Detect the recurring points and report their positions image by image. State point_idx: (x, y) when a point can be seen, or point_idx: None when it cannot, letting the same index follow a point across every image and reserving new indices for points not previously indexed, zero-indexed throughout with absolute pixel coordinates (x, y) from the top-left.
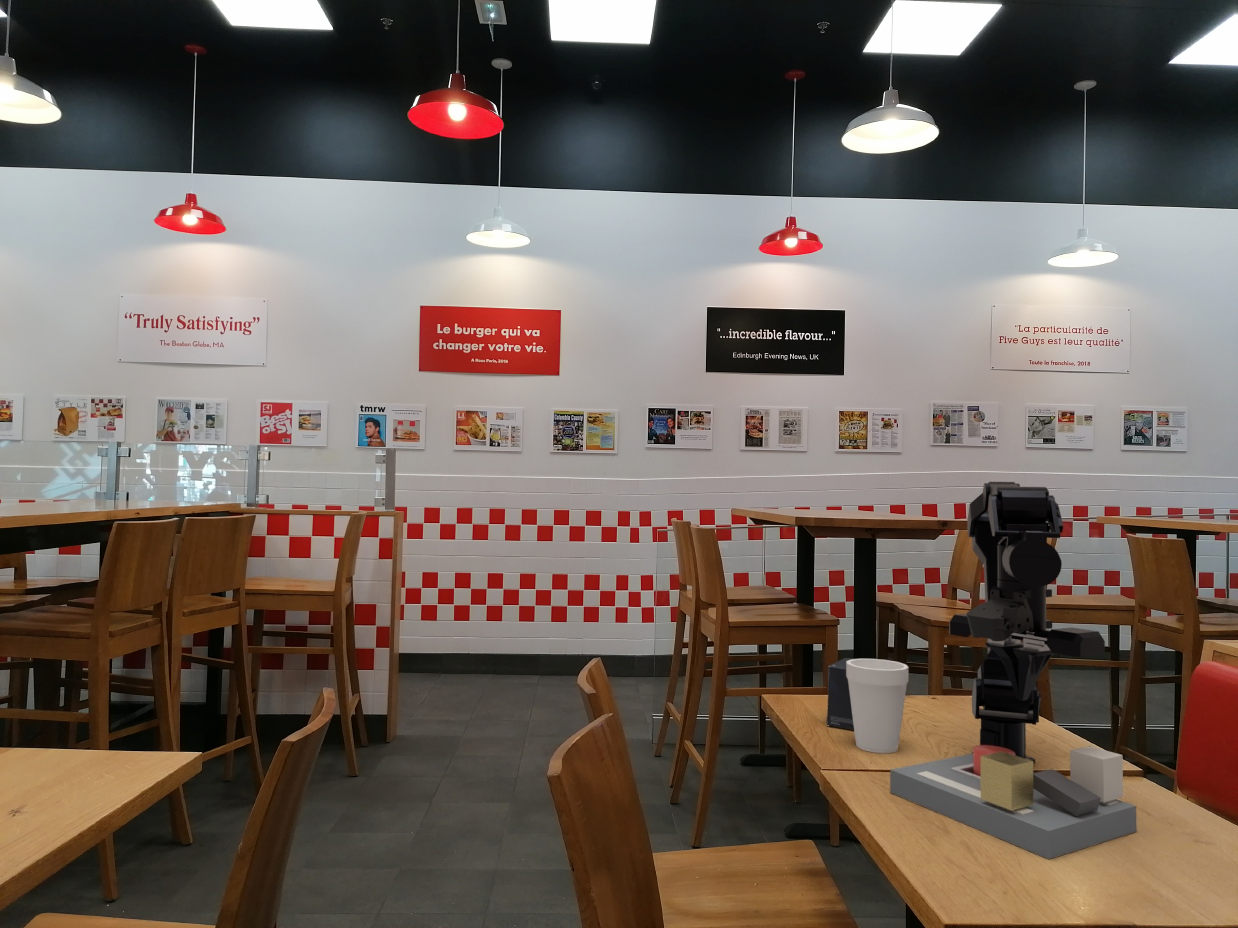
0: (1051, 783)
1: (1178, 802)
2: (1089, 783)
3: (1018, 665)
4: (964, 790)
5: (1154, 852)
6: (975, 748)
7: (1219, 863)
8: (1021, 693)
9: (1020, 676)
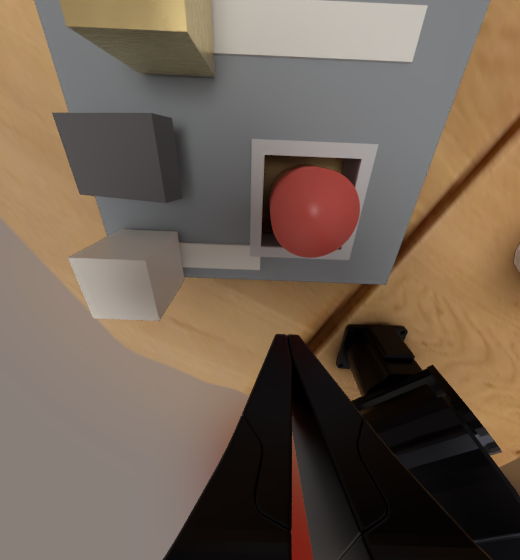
0: (116, 125)
1: (188, 370)
2: (132, 237)
3: (325, 501)
4: (280, 9)
5: (75, 210)
6: (351, 192)
7: (38, 248)
8: (278, 347)
9: (279, 411)
